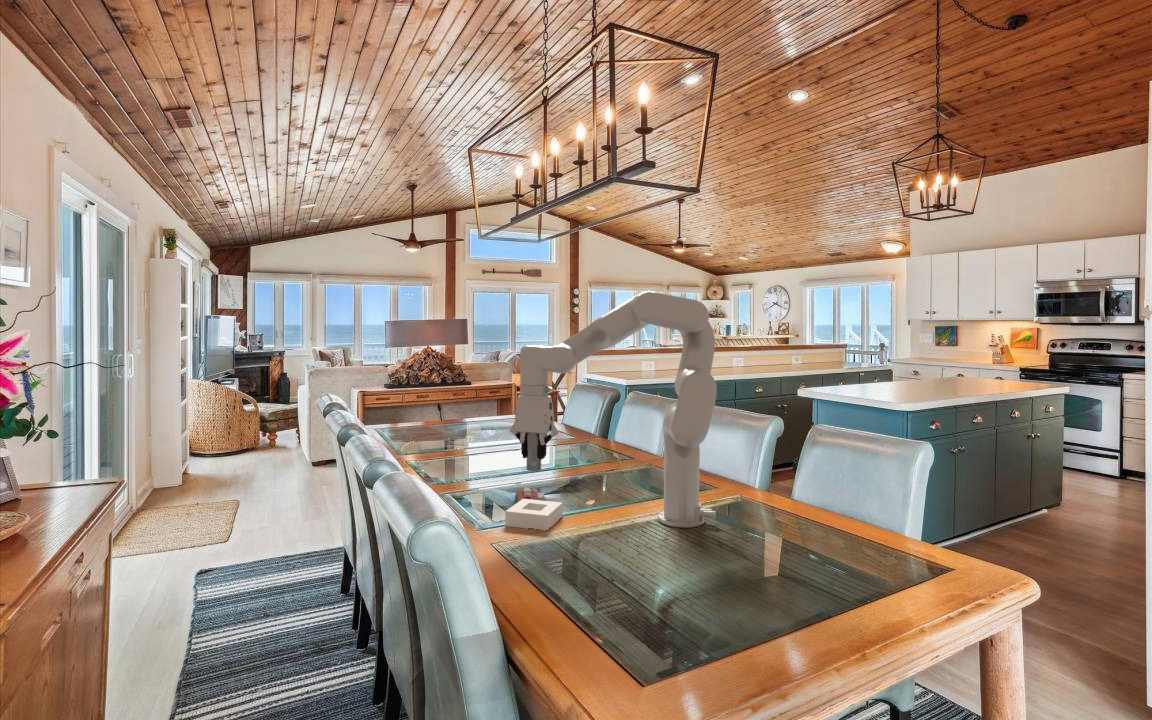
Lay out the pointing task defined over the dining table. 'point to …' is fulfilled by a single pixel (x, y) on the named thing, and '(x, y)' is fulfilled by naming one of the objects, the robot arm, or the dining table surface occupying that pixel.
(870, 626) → the dining table surface
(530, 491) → the walkie-talkie
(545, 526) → the socket block
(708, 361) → the robot arm
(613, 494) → the dining table surface
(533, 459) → the peg
